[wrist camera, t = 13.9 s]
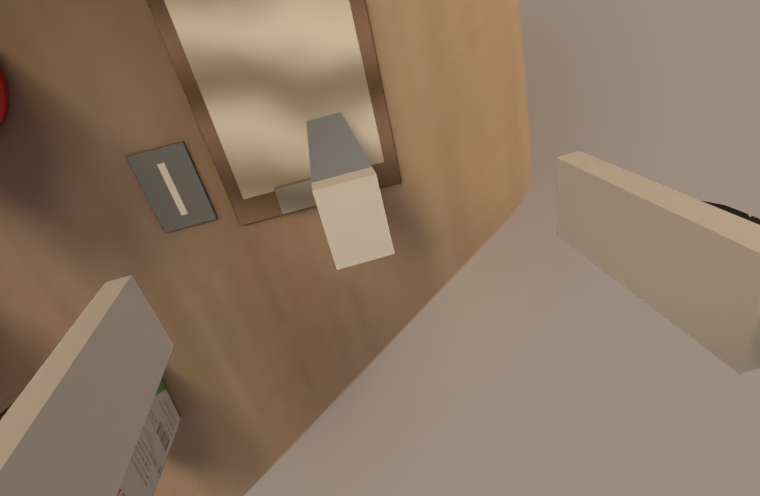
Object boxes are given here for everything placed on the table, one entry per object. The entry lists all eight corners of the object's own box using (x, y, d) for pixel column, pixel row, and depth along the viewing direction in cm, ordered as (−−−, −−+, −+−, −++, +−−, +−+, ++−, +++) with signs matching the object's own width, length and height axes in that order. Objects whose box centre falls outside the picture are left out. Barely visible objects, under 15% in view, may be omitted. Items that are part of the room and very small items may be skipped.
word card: (127, 156, 29) (124, 157, 29) (183, 141, 29) (182, 142, 29) (165, 231, 32) (164, 233, 32) (217, 217, 32) (216, 219, 32)
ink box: (182, 418, 40) (141, 550, 30) (126, 430, 40) (64, 569, 29) (150, 350, 36) (90, 474, 26) (87, 362, 36) (0, 494, 25)
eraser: (306, 117, 30) (312, 191, 15) (338, 108, 30) (376, 173, 15) (319, 163, 31) (337, 270, 17) (350, 154, 31) (394, 253, 17)
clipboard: (135, -30, 25) (128, -33, 24) (347, -80, 26) (349, -85, 24) (241, 223, 33) (239, 230, 32) (400, 180, 33) (403, 185, 32)
